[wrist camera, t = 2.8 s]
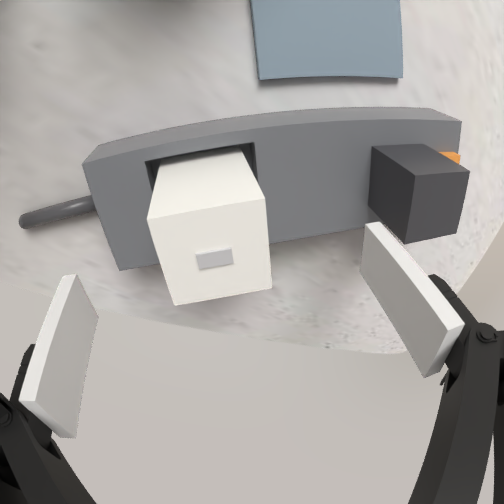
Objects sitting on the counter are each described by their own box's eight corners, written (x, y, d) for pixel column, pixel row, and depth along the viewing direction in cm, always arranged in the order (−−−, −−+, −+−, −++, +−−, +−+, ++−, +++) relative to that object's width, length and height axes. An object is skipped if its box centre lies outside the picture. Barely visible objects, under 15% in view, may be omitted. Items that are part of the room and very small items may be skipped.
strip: (40, 258, 24) (4, 335, 16) (6, 176, 19) (-56, 237, 12) (421, 192, 27) (484, 246, 19) (430, 108, 22) (509, 144, 15)
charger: (176, 226, 22) (174, 307, 16) (161, 159, 19) (146, 221, 13) (246, 213, 23) (272, 290, 16) (239, 145, 20) (265, 200, 13)
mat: (258, 79, 19) (260, 79, 19) (242, -64, 13) (243, -66, 12) (398, 77, 20) (402, 78, 20) (389, -48, 14) (393, -50, 13)
